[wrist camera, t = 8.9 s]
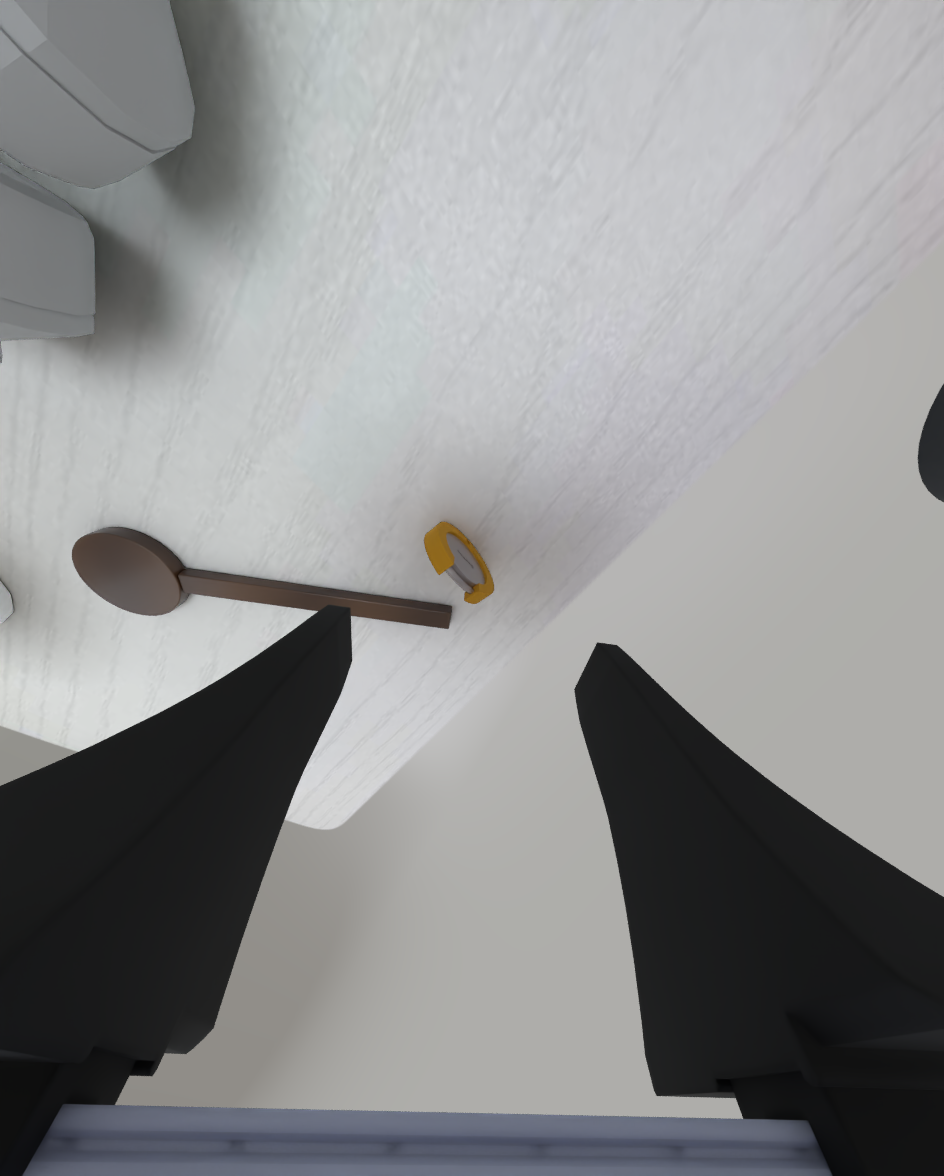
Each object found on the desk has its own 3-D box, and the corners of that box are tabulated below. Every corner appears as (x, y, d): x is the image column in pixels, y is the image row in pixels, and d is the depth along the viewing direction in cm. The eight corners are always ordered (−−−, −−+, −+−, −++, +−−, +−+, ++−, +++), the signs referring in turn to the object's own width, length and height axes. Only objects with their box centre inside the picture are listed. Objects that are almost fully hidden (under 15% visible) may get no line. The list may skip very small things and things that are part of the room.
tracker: (491, 566, 18) (495, 608, 15) (480, 574, 18) (481, 617, 15) (441, 510, 16) (433, 543, 13) (429, 520, 16) (418, 555, 13)
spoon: (457, 577, 18) (456, 585, 18) (445, 645, 21) (444, 654, 20) (69, 519, 17) (52, 525, 16) (109, 601, 19) (96, 609, 19)
